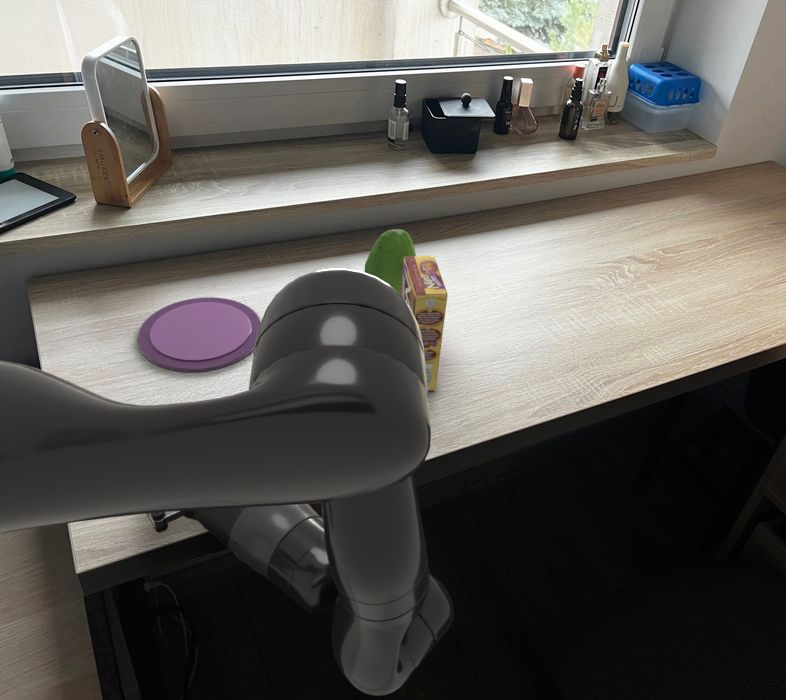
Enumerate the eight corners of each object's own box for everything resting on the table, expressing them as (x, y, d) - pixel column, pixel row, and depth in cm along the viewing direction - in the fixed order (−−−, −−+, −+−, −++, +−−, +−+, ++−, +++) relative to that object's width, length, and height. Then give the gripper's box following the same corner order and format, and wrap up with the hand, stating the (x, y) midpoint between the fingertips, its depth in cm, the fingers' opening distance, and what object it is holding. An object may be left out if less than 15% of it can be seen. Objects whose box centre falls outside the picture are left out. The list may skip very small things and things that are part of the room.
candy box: (438, 391, 94) (448, 294, 85) (406, 393, 93) (412, 295, 84) (427, 348, 101) (435, 254, 91) (396, 350, 100) (401, 255, 90)
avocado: (426, 300, 110) (432, 231, 103) (393, 322, 105) (396, 251, 97) (386, 280, 113) (389, 211, 106) (352, 300, 108) (352, 229, 101)
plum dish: (171, 388, 89) (170, 384, 89) (118, 325, 98) (117, 320, 98) (285, 343, 99) (284, 338, 98) (227, 288, 107) (226, 284, 107)
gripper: (319, 454, 70) (208, 374, 78) (194, 545, 61) (81, 445, 68) (321, 503, 75) (216, 424, 82) (205, 596, 66) (98, 497, 73)
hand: (156, 434), depth 75 cm, fingers closed on supplement bottle, 4 cm apart
